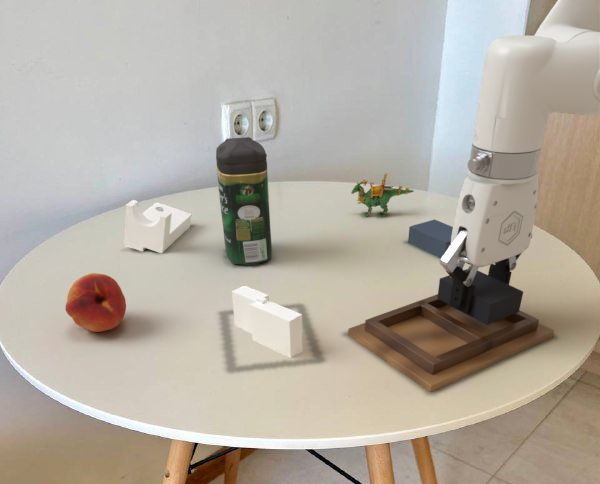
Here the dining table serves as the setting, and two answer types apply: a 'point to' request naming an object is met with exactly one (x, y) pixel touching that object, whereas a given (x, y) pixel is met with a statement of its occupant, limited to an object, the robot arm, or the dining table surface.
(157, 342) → the dining table surface
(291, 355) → the white stepped block
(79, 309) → the fruit
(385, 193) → the figurine
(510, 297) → the pad near
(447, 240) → the pad front
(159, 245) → the bracket
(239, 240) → the coffee jar
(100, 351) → the dining table surface
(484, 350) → the wooden tray
